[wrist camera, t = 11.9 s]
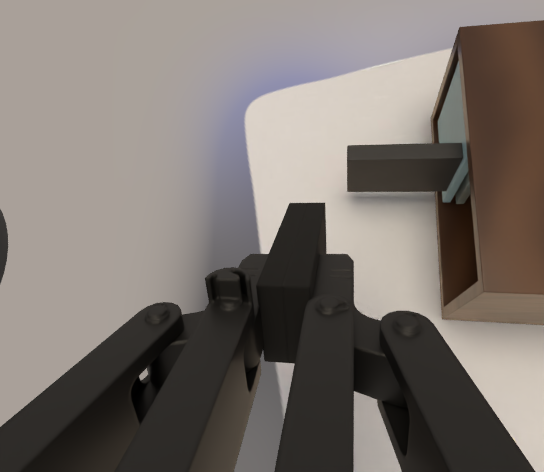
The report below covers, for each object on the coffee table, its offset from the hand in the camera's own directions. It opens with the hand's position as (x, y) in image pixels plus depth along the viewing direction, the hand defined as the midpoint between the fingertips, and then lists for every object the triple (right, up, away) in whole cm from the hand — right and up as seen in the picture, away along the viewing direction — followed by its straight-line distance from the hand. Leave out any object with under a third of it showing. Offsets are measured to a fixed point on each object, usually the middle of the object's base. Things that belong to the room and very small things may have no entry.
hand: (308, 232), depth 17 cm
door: (+9, +6, +17) cm, 20 cm away
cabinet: (+17, +2, +15) cm, 23 cm away
